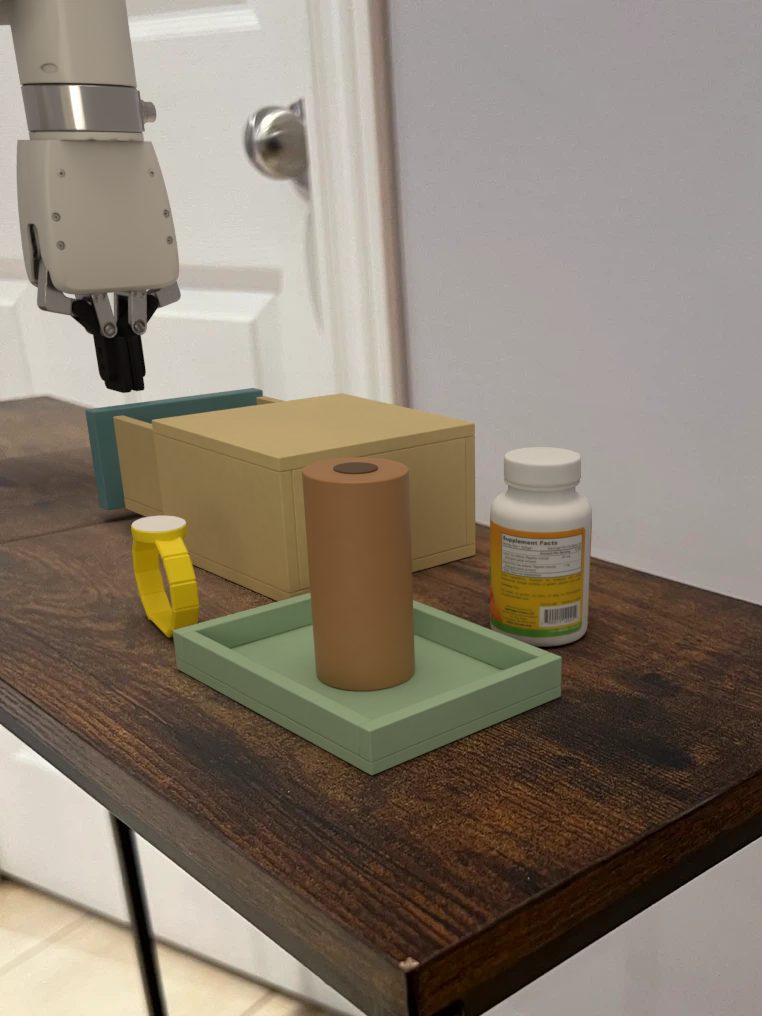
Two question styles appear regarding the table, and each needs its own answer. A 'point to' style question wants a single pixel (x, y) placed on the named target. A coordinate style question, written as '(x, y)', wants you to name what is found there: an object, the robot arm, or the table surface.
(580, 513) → the supplement bottle
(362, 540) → the paper roll
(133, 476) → the drawer
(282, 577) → the cabinet
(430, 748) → the tray
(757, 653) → the table surface
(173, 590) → the watch
